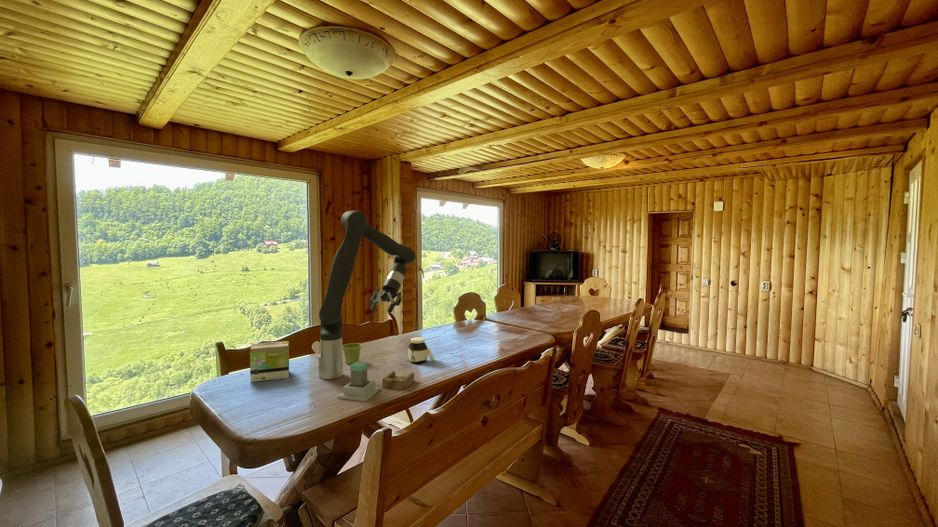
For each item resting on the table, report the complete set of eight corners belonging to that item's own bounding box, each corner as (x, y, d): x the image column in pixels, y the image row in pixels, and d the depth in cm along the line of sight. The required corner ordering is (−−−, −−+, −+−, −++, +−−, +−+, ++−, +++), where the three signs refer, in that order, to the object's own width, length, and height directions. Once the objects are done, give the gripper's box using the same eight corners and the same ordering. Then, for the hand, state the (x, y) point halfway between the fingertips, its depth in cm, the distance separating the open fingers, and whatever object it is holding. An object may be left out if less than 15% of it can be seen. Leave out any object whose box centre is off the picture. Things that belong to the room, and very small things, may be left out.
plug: (350, 392, 148) (350, 365, 147) (357, 388, 153) (357, 361, 152) (361, 394, 147) (360, 366, 146) (368, 389, 151) (367, 362, 151)
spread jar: (405, 361, 191) (405, 338, 190) (423, 356, 198) (423, 334, 198) (419, 366, 182) (419, 343, 181) (438, 361, 190) (438, 338, 189)
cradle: (382, 387, 156) (382, 379, 156) (392, 378, 166) (392, 371, 166) (405, 389, 154) (405, 381, 154) (414, 380, 164) (414, 372, 163)
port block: (337, 398, 145) (337, 388, 145) (353, 386, 157) (353, 377, 157) (365, 401, 143) (365, 391, 142) (380, 389, 154) (380, 379, 154)
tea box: (250, 383, 161) (249, 349, 160) (252, 375, 170) (251, 343, 169) (289, 378, 167) (288, 345, 166) (289, 371, 176) (289, 339, 175)
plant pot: (358, 365, 183) (358, 348, 183) (339, 365, 183) (339, 348, 183) (364, 359, 193) (364, 343, 192) (346, 359, 193) (345, 343, 192)
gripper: (377, 277, 176) (362, 305, 166) (404, 278, 171) (391, 307, 161) (383, 287, 181) (369, 315, 171) (409, 288, 177) (397, 317, 167)
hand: (380, 311), depth 166 cm, fingers open, 8 cm apart
